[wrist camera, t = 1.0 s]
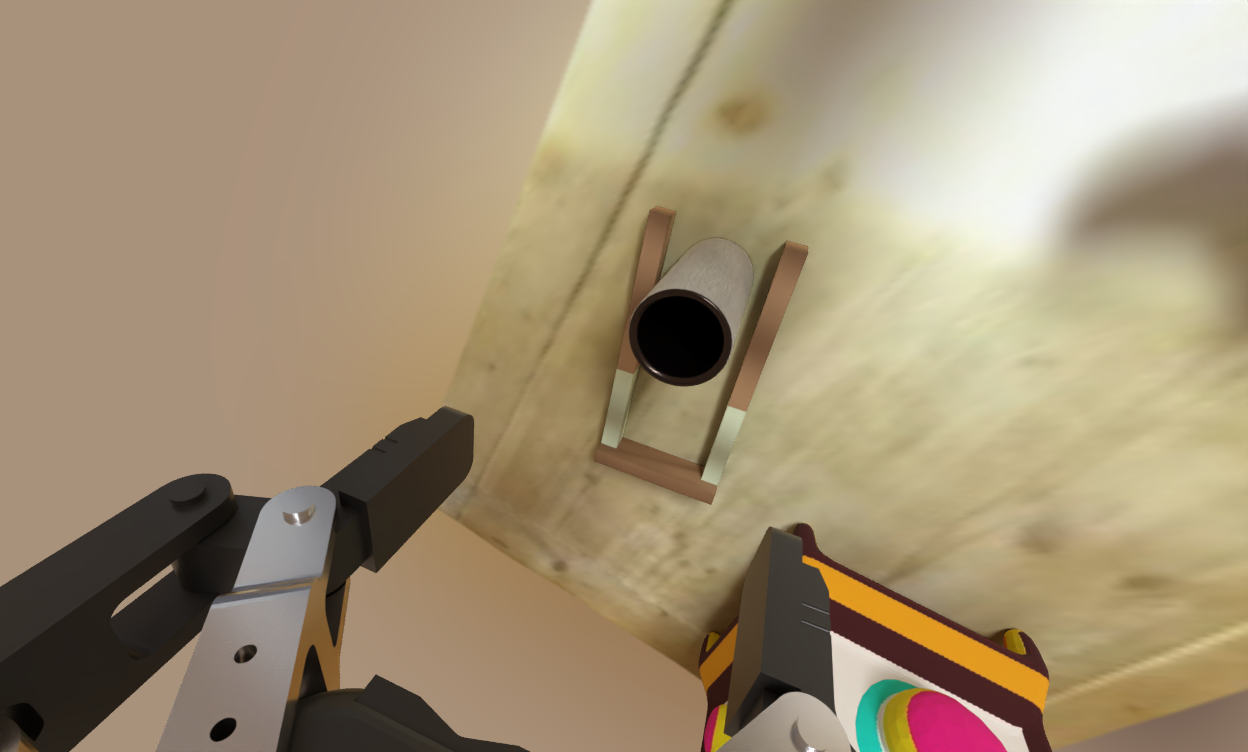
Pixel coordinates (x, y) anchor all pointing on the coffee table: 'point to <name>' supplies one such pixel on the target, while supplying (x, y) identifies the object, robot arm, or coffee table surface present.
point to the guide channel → (705, 479)
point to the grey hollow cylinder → (693, 314)
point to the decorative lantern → (906, 674)
